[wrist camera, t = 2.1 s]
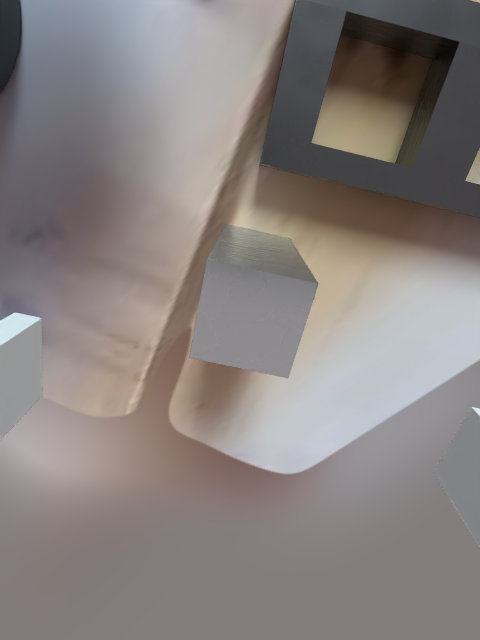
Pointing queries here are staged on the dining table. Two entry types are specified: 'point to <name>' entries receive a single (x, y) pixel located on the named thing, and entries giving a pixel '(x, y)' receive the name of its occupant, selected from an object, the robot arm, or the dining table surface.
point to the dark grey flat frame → (430, 113)
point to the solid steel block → (253, 302)
